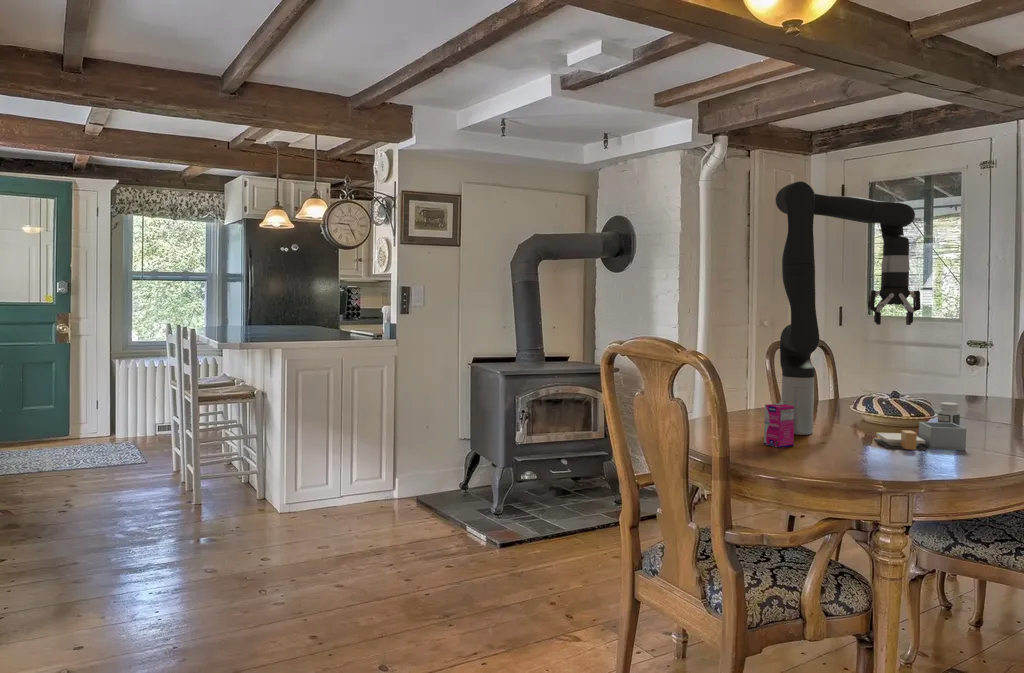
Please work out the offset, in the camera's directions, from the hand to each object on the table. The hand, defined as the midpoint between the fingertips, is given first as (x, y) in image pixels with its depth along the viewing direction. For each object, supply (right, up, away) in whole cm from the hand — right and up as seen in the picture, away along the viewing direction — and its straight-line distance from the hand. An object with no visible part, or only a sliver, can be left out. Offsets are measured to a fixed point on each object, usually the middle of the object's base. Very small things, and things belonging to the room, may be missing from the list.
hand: (893, 324), depth 233 cm
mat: (-6, -34, -16) cm, 38 cm away
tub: (+5, -34, -18) cm, 39 cm away
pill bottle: (+15, -34, -3) cm, 37 cm away
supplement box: (-41, -34, -19) cm, 57 cm away
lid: (-7, -34, -18) cm, 39 cm away
